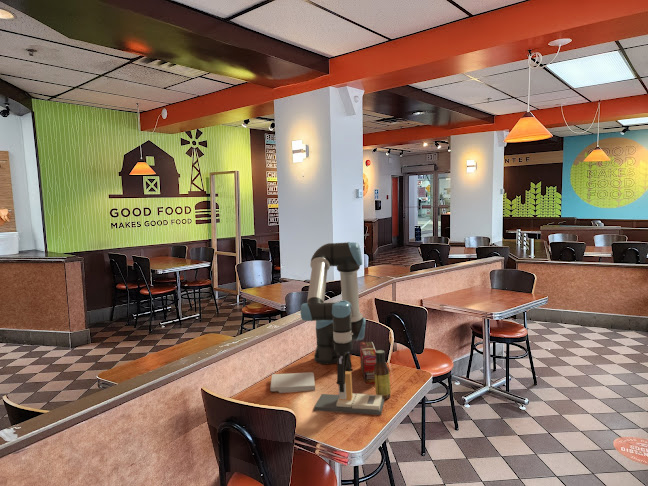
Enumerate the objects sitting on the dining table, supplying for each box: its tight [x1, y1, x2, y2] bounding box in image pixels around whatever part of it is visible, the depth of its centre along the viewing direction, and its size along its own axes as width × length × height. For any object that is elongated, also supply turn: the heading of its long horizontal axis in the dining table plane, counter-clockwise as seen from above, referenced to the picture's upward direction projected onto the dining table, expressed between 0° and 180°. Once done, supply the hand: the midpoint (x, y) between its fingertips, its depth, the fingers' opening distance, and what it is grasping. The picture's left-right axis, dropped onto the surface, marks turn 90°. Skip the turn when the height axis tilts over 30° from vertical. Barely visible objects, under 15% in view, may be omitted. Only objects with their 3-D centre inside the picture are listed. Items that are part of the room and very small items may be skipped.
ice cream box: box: [359, 341, 377, 385], centre depth 207 cm, size 20×6×13 cm, turn 1°
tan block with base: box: [336, 371, 356, 407], centre depth 177 cm, size 10×6×12 cm, turn 166°
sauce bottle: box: [374, 349, 392, 400], centre depth 183 cm, size 6×6×20 cm
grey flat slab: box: [269, 371, 316, 394], centre depth 201 cm, size 15×3×20 cm
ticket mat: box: [313, 393, 385, 416], centre depth 177 cm, size 12×27×3 cm, turn 76°
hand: (345, 392), depth 177 cm, fingers open, 11 cm apart
